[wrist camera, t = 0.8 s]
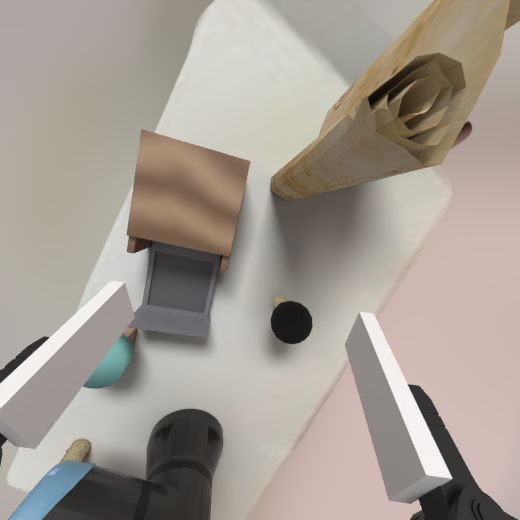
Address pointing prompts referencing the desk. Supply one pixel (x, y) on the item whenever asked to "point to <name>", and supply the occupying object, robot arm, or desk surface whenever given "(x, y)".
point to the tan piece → (405, 100)
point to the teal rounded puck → (112, 364)
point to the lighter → (77, 451)
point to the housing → (185, 196)
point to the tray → (177, 291)
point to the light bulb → (290, 321)
